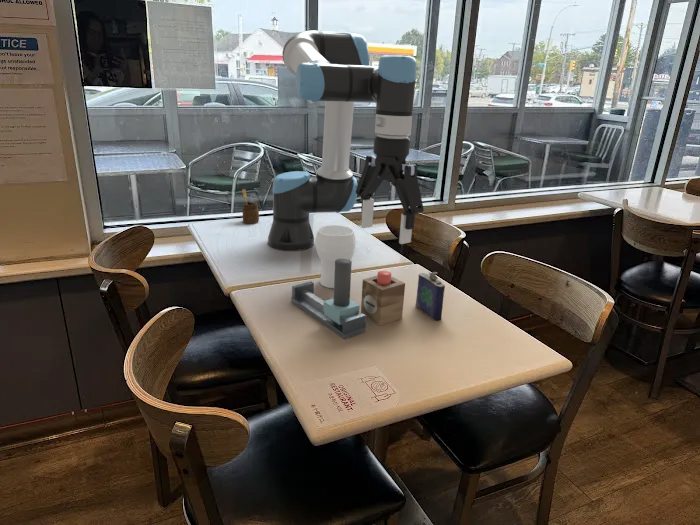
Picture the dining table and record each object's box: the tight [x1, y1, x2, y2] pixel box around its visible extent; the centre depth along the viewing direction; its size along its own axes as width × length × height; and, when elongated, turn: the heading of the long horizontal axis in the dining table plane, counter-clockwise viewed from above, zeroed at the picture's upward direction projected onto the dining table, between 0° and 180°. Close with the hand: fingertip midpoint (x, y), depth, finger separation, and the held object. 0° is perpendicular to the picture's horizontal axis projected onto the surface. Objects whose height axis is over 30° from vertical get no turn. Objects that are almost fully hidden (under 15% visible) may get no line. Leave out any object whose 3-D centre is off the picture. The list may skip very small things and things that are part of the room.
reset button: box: [376, 270, 392, 286], centre depth 115 cm, size 3×3×4 cm
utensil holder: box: [241, 188, 260, 225], centre depth 183 cm, size 6×6×12 cm
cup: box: [314, 224, 357, 289], centre depth 133 cm, size 11×11×15 cm
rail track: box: [291, 281, 367, 340], centre depth 116 cm, size 22×6×4 cm, turn 38°
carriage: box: [323, 259, 361, 325], centre depth 110 cm, size 6×6×13 cm
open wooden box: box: [360, 275, 406, 326], centre depth 116 cm, size 7×8×9 cm
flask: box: [415, 271, 446, 322], centre depth 119 cm, size 9×3×11 cm, turn 26°
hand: (385, 234), depth 110 cm, fingers open, 12 cm apart
